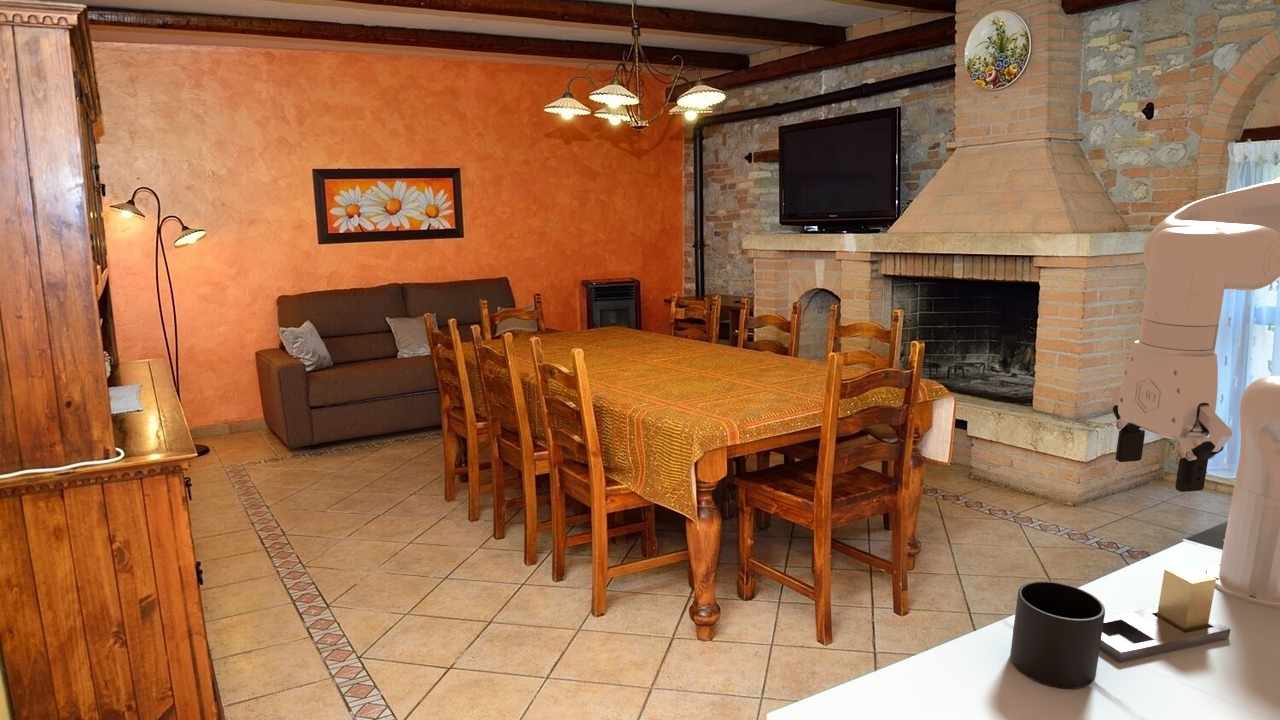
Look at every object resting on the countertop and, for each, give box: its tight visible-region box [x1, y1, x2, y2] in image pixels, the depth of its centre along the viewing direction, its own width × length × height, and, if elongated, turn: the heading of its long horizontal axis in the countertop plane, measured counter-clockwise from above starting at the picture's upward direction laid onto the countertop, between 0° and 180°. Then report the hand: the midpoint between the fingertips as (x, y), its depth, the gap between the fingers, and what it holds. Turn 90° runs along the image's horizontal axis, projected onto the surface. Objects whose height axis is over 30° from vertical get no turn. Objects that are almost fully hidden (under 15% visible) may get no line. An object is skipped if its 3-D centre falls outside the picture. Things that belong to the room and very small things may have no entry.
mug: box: [1010, 580, 1106, 689], centre depth 102 cm, size 9×12×9 cm
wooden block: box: [1157, 564, 1216, 633], centre depth 109 cm, size 4×4×8 cm
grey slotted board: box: [1099, 606, 1231, 664], centre depth 108 cm, size 18×7×2 cm, turn 108°
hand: (1157, 474), depth 101 cm, fingers open, 9 cm apart
